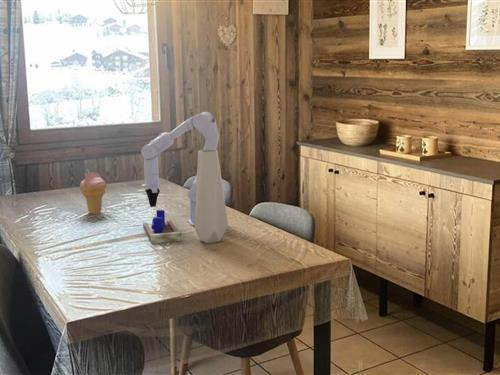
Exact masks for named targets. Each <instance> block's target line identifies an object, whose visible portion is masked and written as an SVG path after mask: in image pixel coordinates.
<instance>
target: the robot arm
mask: <svg viewBox="0 0 500 375" xmlns="http://www.w3.org/2000/svg"><path fill="white" fill-rule="evenodd" d="M195 129H196V130H197V131H198V132H199V133H200V134H202V136H203V138H204V139H205V142H204V146H203V149H202V150H204V149H216V150H217V148H218V144H219V140H220V133H219V129H218V126H217V120H216V118H215V117H214V115H213V114H212V113H211V112H209V111H203V112H201V113H197V114H196V115H194V116H192V117H190V118H188V119H186V120H185V121H183V122H182V123H180V124H179V125H178V126H177V127H176V128H173V129H172V130H171V131H170V132H166V131H165V132H160V133H159V134H158V136H157V137H156V138H154V139H151V140H150V141H149V143H148V144H147V143H146V144H144V145H143V147H142V148H141V151H140V153H141V157H143V172H144V174H143V175H144V184H141V187H142V188H145V189H144V191H145V193H146V196H147V199H148V200H147V201H148V204H149V207H150V208H155V207H157V200H158V197H159V194H160V191H161V190H160V188H159V187H160V185H161V184H160V173H159V172H160V171H159V155H160V154H161V153H163V152H164V151H165V150H167V149H168V148H170V147H171V146H173V144H174V143H175V142H174V141H175V139H176V138H177V139H178V138H179V137H180V136H181V135H184V134H185V133H186V132H187V131H189V130H192V131H193V130H195ZM194 178H195V179H194V180H193V182H192V185H191V187H190V188H189V189H188V191H187V197H188V199H189V218H190V219H187V221H188V222H189V224H190V225H191V226H195V213H196V190H197V174H196V175H195V177H194Z"/></svg>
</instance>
